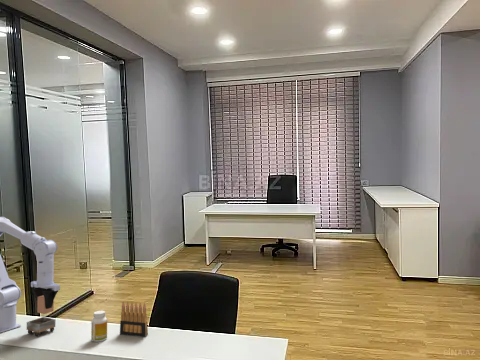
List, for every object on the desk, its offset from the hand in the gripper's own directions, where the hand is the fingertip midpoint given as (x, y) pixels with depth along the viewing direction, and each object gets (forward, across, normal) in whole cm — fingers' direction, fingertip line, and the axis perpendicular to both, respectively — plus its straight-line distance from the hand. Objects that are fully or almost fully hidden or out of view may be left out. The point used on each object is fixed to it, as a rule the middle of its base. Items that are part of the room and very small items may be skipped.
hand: (44, 307), depth 146 cm
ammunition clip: (+9, +34, +12) cm, 37 cm away
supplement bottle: (+9, +26, +3) cm, 27 cm away
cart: (+9, 0, -2) cm, 9 cm away
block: (+2, 0, 0) cm, 2 cm away
